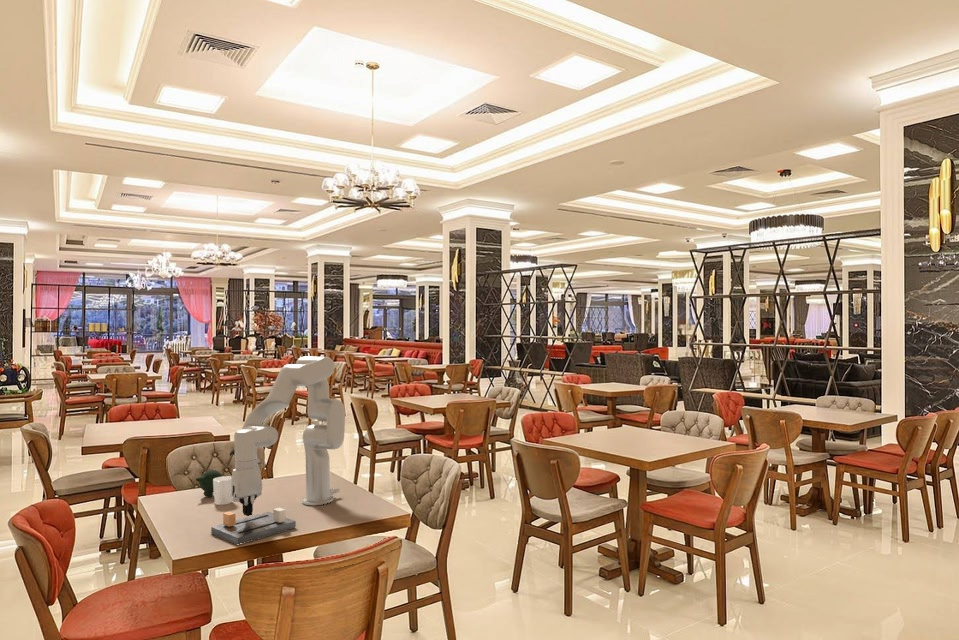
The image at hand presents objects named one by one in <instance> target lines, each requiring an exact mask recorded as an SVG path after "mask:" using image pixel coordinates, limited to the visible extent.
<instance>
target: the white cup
mask: <svg viewBox="0 0 959 640" xmlns="http://www.w3.org/2000/svg"><path fill="white" fill-rule="evenodd" d="M231 476H232V475H225V476H223V477H217V478H214V479H213V490H214V492H213V498H214V500H213V501H214V505H217V506H224V505H229V504H232V503H233V501H232V500H233V496H231Z"/></svg>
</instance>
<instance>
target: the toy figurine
mask: <svg viewBox="0 0 959 640" xmlns="http://www.w3.org/2000/svg"><path fill="white" fill-rule="evenodd" d="M232 455H235V449H232V450H231V451H230V453H229V456H230V457H231V456H232ZM223 476H226V475H224V474H223V473H221V472H220V471H218V470H217V469H209V470H206V471H205V472H203V473H202V475H201V476H200V477H197V478H195V481H197V482H198V484H199V488H200V489H201V490H203V491H204V492H203V496H204V497H206V498H211V497H213V496H214V490H213V479H214V478H217V477H223ZM230 476H231V477H232V475H230Z"/></svg>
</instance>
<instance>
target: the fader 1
mask: <svg viewBox="0 0 959 640" xmlns="http://www.w3.org/2000/svg"><path fill="white" fill-rule="evenodd" d="M222 516H223V517H222V519H223V522H222V524H223V525H226V526H227V527H230V526H234V525H236V520H237V519H236V513H235V512H232V511H226V512H223V513H222Z"/></svg>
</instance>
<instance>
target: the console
mask: <svg viewBox="0 0 959 640" xmlns="http://www.w3.org/2000/svg"><path fill="white" fill-rule="evenodd" d="M296 525H297V524H296V520H293V519H291V518H288V517H286V521H283V522H280V523H278V522H276V521H274V520H273V512H269V511H267V512H262V513H259V514H255V515H250V516H246V517H244V518H240V519H236V525H234V526H230V527H227V526H226V525H223V523H221V524H217V525H214V526H211V527H210V528H211V532H210V534H211V535H212V536H214V537H217V538H220V539H222V540H224V541H226V542H229V543H231V542H232V543H231V544H233V543H235V544H234V545H236V544H240V543H244V542H247V541H251V540H254V541H256V540H255V539H258V538H261V539H263V538H262V537H264V538H267V537H266V536H268V537H270V536H269V535H271V536H273V535H272V534H274V535H277V534H276V533H278V534H280V533H279V532H281V533H283V532H282V531H284V532H286V531H285V530H288V531H290V530H289V529H291V530H293V529H292V528H294V529H296V528H295V527H297V526H296ZM258 540H259V539H258ZM251 542H252V541H251ZM244 544H245V543H244Z"/></svg>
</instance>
